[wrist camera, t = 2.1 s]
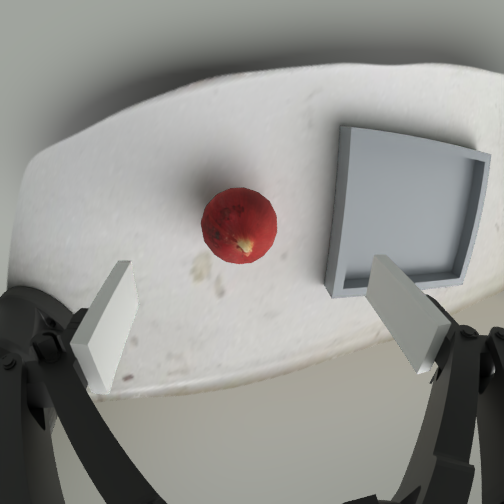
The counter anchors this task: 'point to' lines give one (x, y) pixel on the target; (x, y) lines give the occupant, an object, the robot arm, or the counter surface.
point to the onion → (239, 225)
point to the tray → (404, 209)
